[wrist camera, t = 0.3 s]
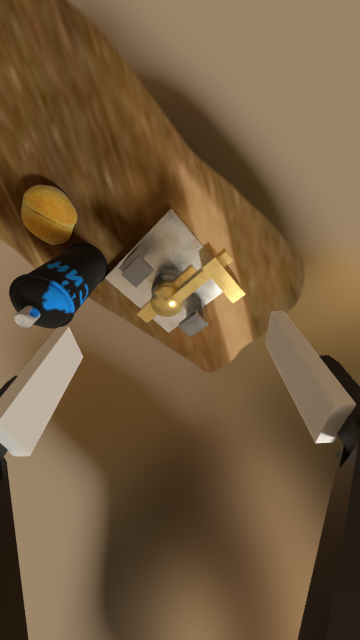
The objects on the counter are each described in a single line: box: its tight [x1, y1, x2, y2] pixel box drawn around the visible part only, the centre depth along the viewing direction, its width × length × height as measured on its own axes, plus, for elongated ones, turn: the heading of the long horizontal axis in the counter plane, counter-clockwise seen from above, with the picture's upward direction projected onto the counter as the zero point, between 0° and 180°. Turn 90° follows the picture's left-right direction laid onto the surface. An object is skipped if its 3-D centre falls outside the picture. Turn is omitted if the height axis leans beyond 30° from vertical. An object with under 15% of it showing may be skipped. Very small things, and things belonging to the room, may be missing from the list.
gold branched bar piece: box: [137, 242, 245, 323], centre depth 32 cm, size 6×18×11 cm, turn 132°
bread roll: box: [21, 185, 77, 245], centre depth 35 cm, size 8×9×4 cm
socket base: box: [105, 208, 223, 336], centre depth 39 cm, size 18×18×10 cm
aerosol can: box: [9, 243, 108, 328], centre depth 33 cm, size 8×8×20 cm
